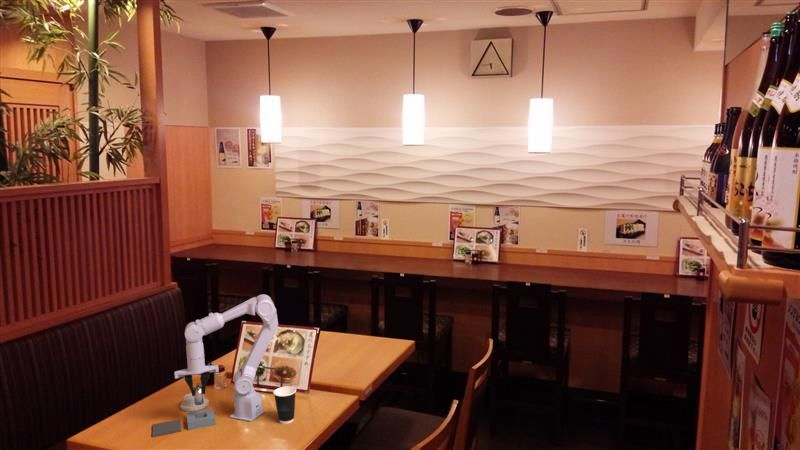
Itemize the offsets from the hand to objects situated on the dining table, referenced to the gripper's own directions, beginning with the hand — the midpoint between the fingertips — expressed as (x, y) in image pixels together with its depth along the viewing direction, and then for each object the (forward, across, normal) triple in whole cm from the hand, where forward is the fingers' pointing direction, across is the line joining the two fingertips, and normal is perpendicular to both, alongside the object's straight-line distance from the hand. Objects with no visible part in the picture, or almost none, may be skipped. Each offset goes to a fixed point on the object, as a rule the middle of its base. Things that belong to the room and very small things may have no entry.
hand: (198, 394), depth 208 cm
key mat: (+10, +11, 0) cm, 15 cm away
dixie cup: (+10, -28, +12) cm, 32 cm away
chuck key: (+3, 0, 0) cm, 3 cm away
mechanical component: (+11, +1, -16) cm, 19 cm away
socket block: (+10, 0, 0) cm, 10 cm away
